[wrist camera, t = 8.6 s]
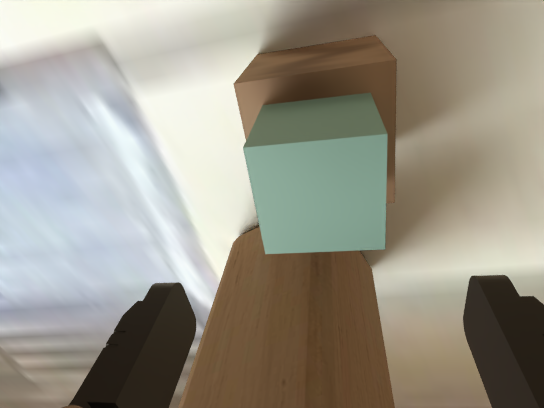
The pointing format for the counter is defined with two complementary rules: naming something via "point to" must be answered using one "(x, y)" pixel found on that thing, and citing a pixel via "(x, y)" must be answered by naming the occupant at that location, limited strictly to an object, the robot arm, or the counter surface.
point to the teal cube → (319, 175)
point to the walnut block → (324, 83)
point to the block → (291, 334)
